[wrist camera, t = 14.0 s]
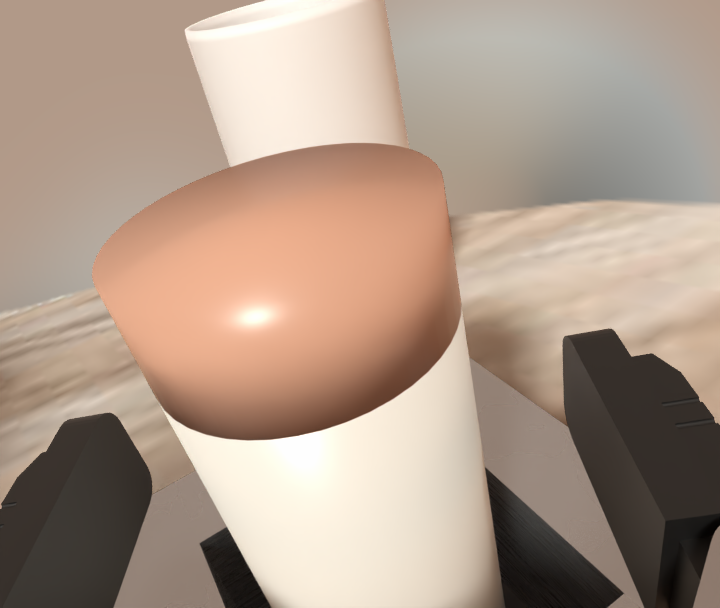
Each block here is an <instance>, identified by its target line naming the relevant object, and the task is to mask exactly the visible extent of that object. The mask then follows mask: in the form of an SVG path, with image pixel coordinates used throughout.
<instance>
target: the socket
mask: <svg viewBox="0 0 720 608" xmlns="http://www.w3.org/2000/svg"><path fill="white" fill-rule="evenodd" d="M469 361H470V367H471V374H472V381H473V388H474V395H475V402H476V409H477V416H478V423H479V430H480V437H481V444H482V450H483V457H484V464H485V471H486V478H487V485H488V492H489V499H490V506H491V513H492V520H493V527H494V533H495V540H496V547H497V554H498V561H499V568H500V575H501V579H502V580H503V581H504V582H505V583H506V584H507V586H508V587H509V588H510V589H511V590H512V591H513V592H514V593H515V594H516V595H517V596H518V598H519V599H520V600H521V601H522V602H523V603H524V604H525V605H526V606H527V607H528V608H644V606H643V603H642V601H641V599H640V596H639V594H638V592H637V589H636V587H635V585H634V582H633V580H632V578H631V575H630V573H629V571H628V568H627V566H626V564H625V561H624V559H623V557H622V554H621V552H620V550H619V547H618V545H617V543H616V540H615V538H614V536H613V533H612V531H611V528H610V526H609V524H608V521H607V519H606V517H605V514H604V512H603V510H602V507H601V505H600V503H599V500H598V498H597V496H596V493H595V491H594V489H593V486H592V484H591V482H590V479H589V477H588V475H587V472H586V470H585V468H584V465H583V463H582V461H581V458H580V456H579V454H578V451H577V449H576V447H575V444H574V442H573V439H572V437H571V434H570V431H569V428H568V427H567V426H566V425H564V424H563V423H561V422H560V421H559V420H557V419H556V418H554V417H553V416H552V415H550V414H549V413H547V412H546V411H545V410H543V409H542V408H540V407H539V406H537V405H536V404H535V403H533V402H532V401H530V400H529V399H528V398H526V397H525V396H523V395H522V394H521V393H519V392H518V391H516V390H515V389H514V388H512V387H511V386H509V385H508V384H506V383H505V382H504V381H502V380H501V379H499V378H498V377H497V376H495V375H494V374H492V373H491V372H490V371H488V370H487V369H485V368H484V367H483V366H481V365H480V364H478V363H477V362H476V361H474V360H473V359H471V358H470V357H469ZM114 608H271V606H270V604H269V602H268V601H267V599H266V597H265V595H264V593H263V591H262V590H261V588H260V586H259V584H258V582H257V581H256V579H255V577H254V575H253V573H252V571H251V570H250V568H249V566H248V564H247V562H246V560H245V559H244V557H243V555H242V553H241V551H240V550H239V548H238V546H237V544H236V542H235V540H234V539H233V537H232V535H231V533H230V531H229V530H228V528H227V526H226V524H225V522H224V520H223V519H222V517H221V515H220V513H219V511H218V510H217V508H216V506H215V504H214V502H213V500H212V499H211V497H210V495H209V493H208V491H207V489H206V488H205V486H204V484H203V482H202V480H201V479H200V477H199V475H198V473H197V471H196V470H195V471H194V472H192V473H190V474H188V475H186V476H185V477H183V478H181V479H179V480H177V481H176V482H174V483H172V484H170V485H168V486H167V487H165V488H163V489H161V490H159V491H158V492H156V493H154V494H152V497H151V501H150V505H149V508H148V510H147V513H146V516H145V519H144V522H143V525H142V528H141V530H140V533H139V536H138V539H137V542H136V545H135V548H134V551H133V553H132V556H131V559H130V562H129V565H128V568H127V571H126V574H125V576H124V579H123V582H122V585H121V588H120V591H119V594H118V596H117V599H116V602H115V605H114Z"/></svg>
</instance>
